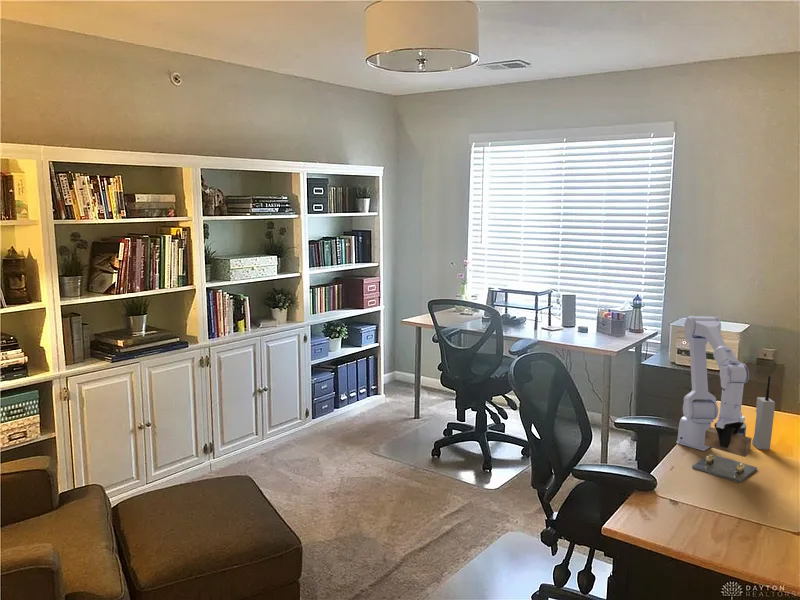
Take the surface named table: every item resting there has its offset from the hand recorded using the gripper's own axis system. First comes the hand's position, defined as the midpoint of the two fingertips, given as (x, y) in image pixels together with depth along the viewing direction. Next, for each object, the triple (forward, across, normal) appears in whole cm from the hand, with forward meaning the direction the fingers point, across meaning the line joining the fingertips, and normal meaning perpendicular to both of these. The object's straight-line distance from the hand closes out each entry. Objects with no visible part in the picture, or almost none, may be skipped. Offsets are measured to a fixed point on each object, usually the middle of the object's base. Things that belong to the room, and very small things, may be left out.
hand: (726, 445), depth 201 cm
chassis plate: (+8, 0, 0) cm, 8 cm away
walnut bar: (+1, 0, 0) cm, 1 cm away
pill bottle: (+8, +25, +6) cm, 27 cm away
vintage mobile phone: (+8, +28, -1) cm, 29 cm away
